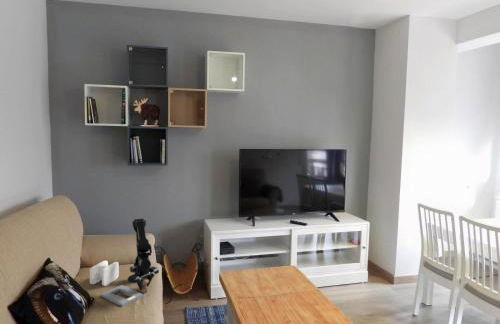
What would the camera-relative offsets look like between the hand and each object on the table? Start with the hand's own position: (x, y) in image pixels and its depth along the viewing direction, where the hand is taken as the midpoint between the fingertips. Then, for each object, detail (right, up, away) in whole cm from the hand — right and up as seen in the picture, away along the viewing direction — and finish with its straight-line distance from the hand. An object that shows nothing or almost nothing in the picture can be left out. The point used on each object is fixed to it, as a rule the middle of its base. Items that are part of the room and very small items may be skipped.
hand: (144, 288), depth 207 cm
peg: (0, -3, 0) cm, 2 cm away
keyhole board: (-11, -3, -5) cm, 13 cm away
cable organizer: (-29, -1, +13) cm, 32 cm away
